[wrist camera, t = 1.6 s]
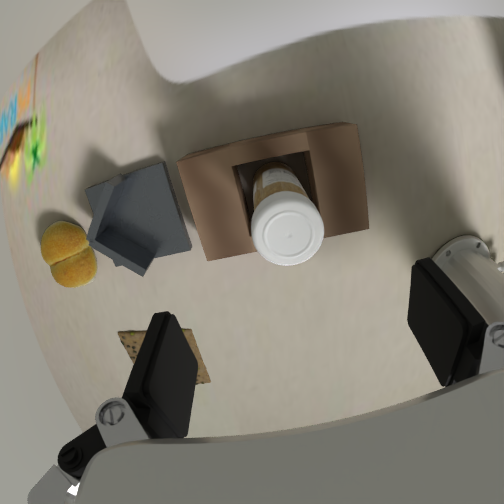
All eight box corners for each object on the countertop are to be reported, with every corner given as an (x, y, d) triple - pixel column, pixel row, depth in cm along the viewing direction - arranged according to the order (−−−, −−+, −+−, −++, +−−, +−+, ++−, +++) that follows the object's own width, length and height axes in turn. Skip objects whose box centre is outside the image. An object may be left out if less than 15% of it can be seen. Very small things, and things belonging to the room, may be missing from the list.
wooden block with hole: (342, 122, 27) (356, 124, 23) (355, 213, 31) (369, 228, 27) (187, 154, 29) (176, 162, 25) (213, 241, 33) (207, 261, 29)
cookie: (213, 380, 45) (212, 385, 44) (145, 381, 46) (144, 385, 45) (192, 325, 39) (191, 330, 39) (117, 329, 40) (114, 333, 39)
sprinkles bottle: (245, 191, 31) (238, 249, 19) (266, 153, 29) (273, 185, 17) (284, 211, 32) (301, 278, 20) (305, 174, 30) (339, 221, 18)
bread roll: (79, 210, 32) (62, 222, 28) (108, 272, 36) (95, 289, 32) (38, 228, 33) (21, 241, 29) (66, 284, 37) (53, 300, 33)
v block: (164, 158, 29) (149, 166, 25) (192, 248, 34) (184, 268, 30) (88, 185, 30) (67, 197, 26) (119, 264, 35) (105, 284, 31)
